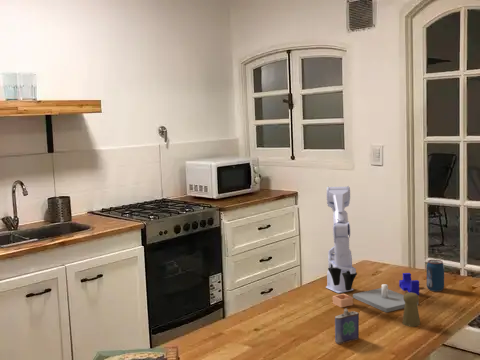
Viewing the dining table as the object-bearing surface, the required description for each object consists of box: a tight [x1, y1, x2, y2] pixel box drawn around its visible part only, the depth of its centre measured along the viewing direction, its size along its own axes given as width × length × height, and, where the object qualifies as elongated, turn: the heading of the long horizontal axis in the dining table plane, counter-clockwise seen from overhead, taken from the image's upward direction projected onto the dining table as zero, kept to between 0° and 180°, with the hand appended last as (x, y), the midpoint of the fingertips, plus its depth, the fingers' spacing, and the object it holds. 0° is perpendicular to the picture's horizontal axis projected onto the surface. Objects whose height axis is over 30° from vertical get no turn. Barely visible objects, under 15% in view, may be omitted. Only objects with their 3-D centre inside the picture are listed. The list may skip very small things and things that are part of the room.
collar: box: [332, 293, 354, 308], centre depth 219 cm, size 6×6×3 cm
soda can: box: [426, 259, 445, 292], centre depth 231 cm, size 7×7×12 cm
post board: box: [352, 283, 419, 313], centre depth 220 cm, size 20×16×6 cm
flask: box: [334, 307, 360, 345], centre depth 184 cm, size 9×3×11 cm, turn 117°
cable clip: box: [398, 272, 420, 296], centre depth 231 cm, size 12×4×6 cm, turn 1°
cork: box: [402, 291, 421, 328], centre depth 196 cm, size 6×6×11 cm
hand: (342, 287), depth 218 cm, fingers open, 7 cm apart
